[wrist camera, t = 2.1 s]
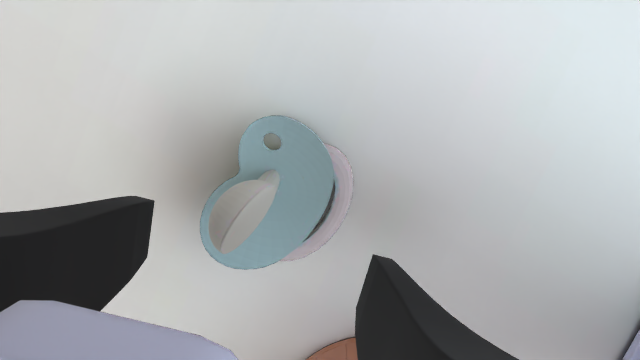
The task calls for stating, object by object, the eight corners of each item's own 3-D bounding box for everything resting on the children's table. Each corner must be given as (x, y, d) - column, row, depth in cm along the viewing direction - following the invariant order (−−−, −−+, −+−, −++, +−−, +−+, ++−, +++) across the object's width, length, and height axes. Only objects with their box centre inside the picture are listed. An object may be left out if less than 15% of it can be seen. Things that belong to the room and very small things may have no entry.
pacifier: (379, 160, 18) (268, 94, 17) (404, 208, 12) (236, 109, 11) (302, 277, 20) (198, 222, 19) (290, 368, 14) (139, 293, 13)
